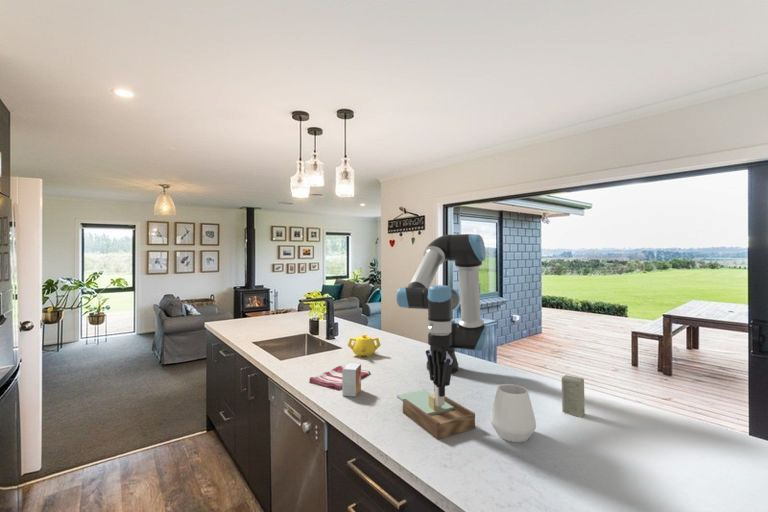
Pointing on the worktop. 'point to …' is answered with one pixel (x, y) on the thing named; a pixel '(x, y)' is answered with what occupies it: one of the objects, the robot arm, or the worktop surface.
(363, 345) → the yellow sugar bowl
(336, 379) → the dish towel
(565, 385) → the skincare box
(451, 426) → the wooden tray
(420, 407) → the cover plate
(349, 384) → the small box
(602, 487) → the worktop surface
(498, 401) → the white ceramic vase
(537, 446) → the worktop surface
